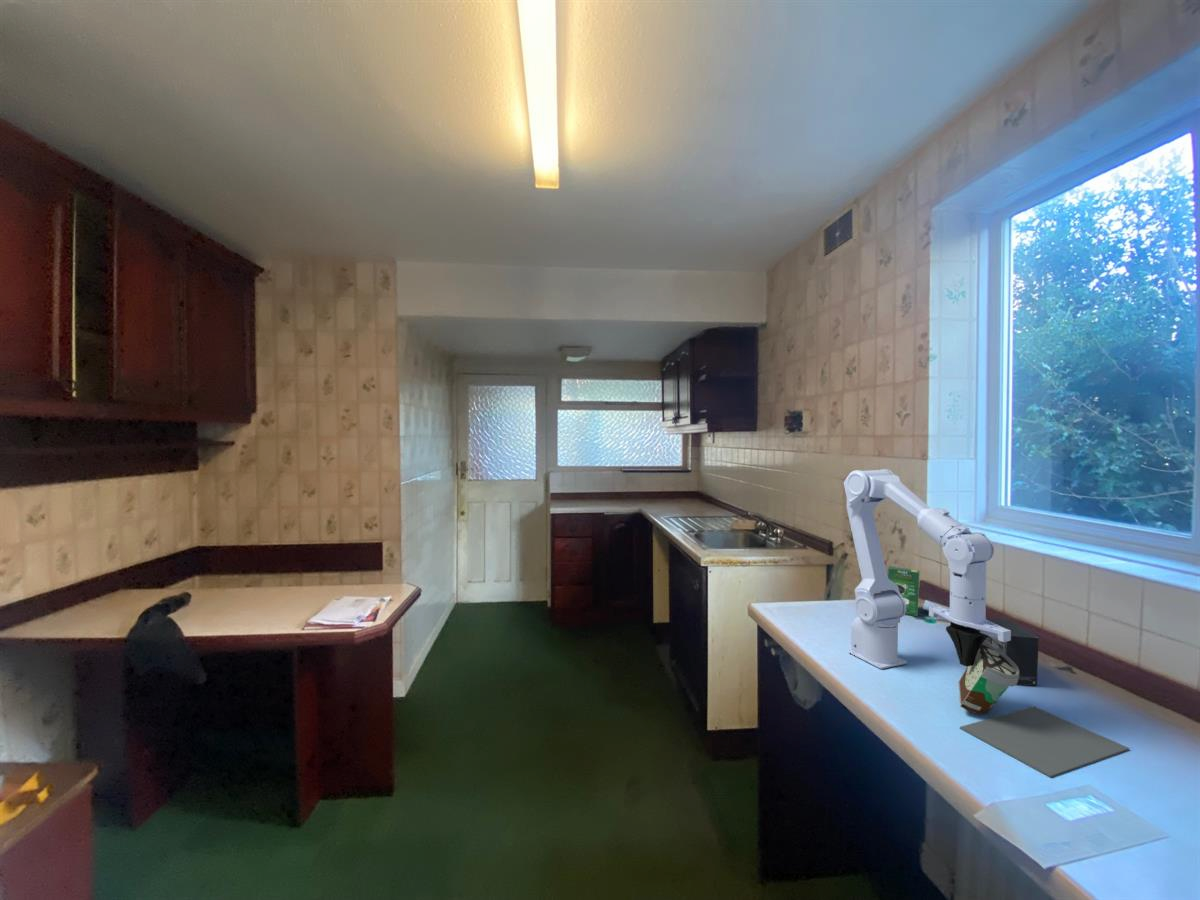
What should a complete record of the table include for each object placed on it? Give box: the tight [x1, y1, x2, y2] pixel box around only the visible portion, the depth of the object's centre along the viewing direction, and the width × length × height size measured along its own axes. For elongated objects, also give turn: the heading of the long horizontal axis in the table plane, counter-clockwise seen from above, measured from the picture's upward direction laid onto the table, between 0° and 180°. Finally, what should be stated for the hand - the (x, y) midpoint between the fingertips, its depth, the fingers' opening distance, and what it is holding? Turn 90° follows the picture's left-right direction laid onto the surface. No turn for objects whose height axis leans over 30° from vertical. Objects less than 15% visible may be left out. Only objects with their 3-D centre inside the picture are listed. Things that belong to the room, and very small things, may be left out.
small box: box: [985, 617, 1040, 687], centre depth 112 cm, size 11×6×10 cm, turn 168°
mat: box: [959, 705, 1130, 779], centre depth 89 cm, size 14×20×1 cm
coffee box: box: [887, 566, 920, 617], centre depth 150 cm, size 8×3×13 cm, turn 56°
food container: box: [957, 641, 1019, 715], centre depth 98 cm, size 12×6×10 cm, turn 147°
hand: (966, 664), depth 101 cm, fingers closed
